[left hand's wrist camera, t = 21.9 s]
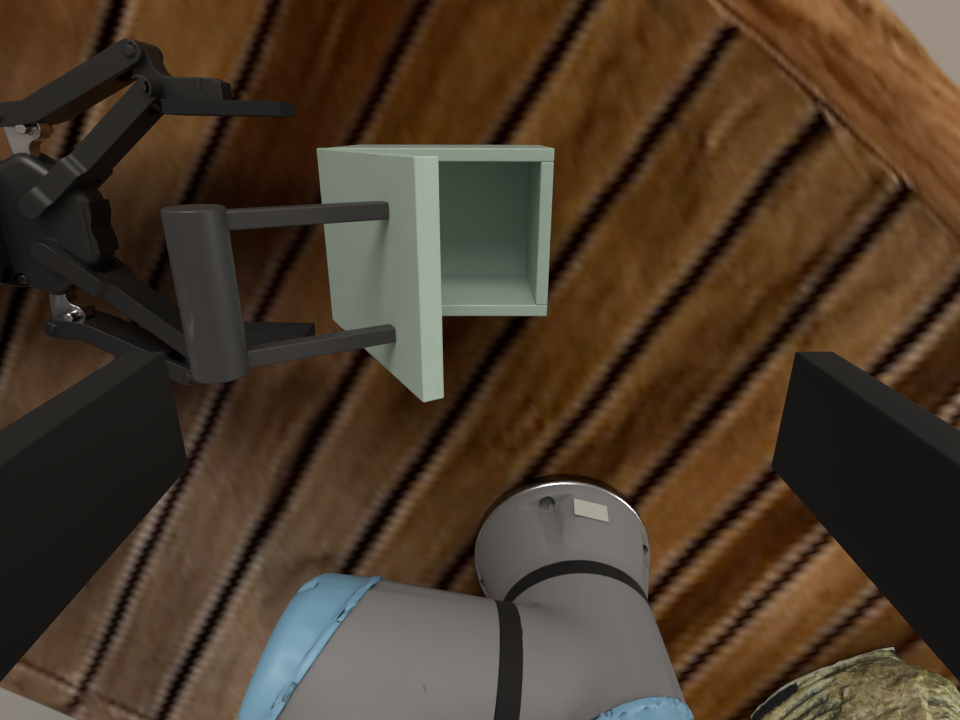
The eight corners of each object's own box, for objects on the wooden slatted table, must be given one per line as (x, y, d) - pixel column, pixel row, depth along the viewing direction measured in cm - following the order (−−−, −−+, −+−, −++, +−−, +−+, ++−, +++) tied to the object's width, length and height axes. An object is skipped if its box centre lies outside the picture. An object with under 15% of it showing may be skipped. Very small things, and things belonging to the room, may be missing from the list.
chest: (539, 145, 40) (554, 148, 32) (534, 282, 43) (546, 316, 35) (358, 144, 40) (327, 147, 32) (368, 281, 43) (342, 316, 35)
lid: (438, 155, 21) (152, 160, 17) (444, 398, 24) (209, 452, 20) (334, 147, 31) (143, 149, 27) (348, 317, 35) (181, 342, 31)
